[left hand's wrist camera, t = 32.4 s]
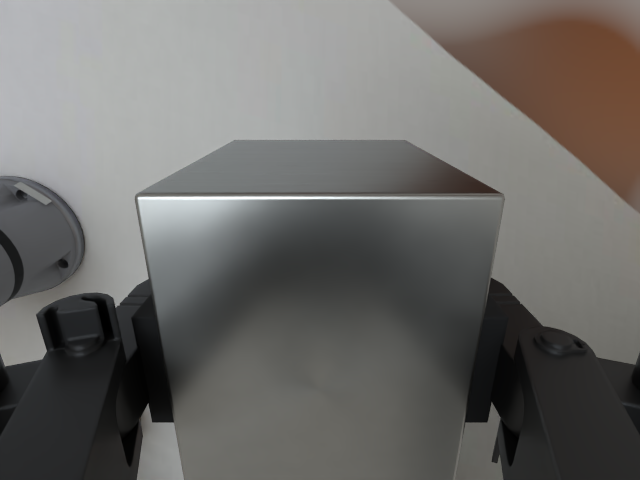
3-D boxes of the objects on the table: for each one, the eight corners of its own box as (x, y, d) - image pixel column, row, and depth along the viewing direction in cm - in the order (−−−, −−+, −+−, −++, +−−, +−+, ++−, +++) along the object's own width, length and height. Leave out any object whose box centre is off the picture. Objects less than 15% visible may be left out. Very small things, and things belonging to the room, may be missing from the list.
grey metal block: (407, 139, 13) (508, 194, 6) (391, 332, 16) (449, 524, 9) (232, 139, 13) (130, 193, 6) (247, 332, 16) (190, 523, 9)
